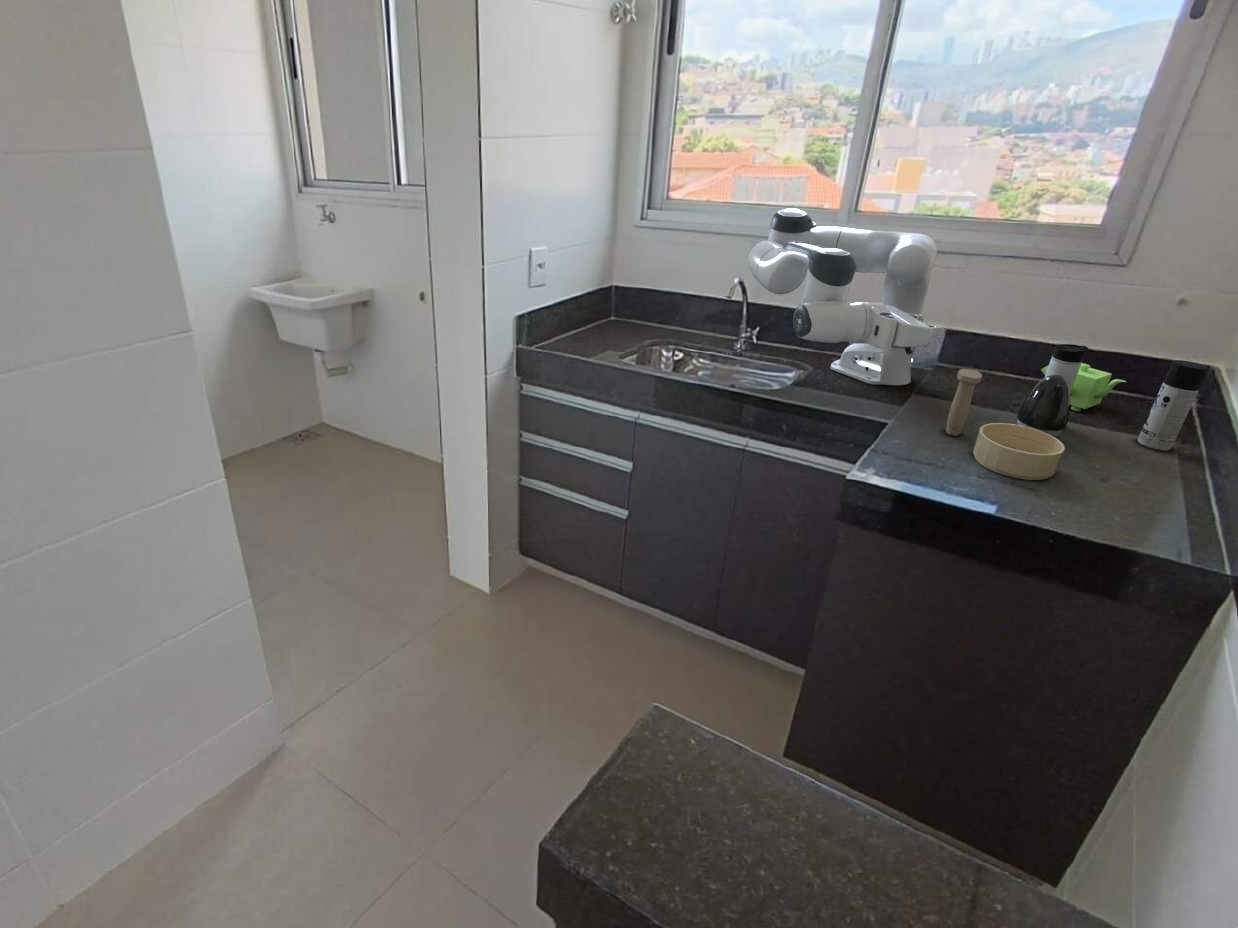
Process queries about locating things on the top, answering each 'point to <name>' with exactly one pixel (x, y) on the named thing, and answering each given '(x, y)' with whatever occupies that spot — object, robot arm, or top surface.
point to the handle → (962, 400)
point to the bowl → (1018, 451)
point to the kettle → (1089, 387)
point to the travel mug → (1066, 362)
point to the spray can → (1172, 404)
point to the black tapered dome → (1047, 406)
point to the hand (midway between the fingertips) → (932, 325)
